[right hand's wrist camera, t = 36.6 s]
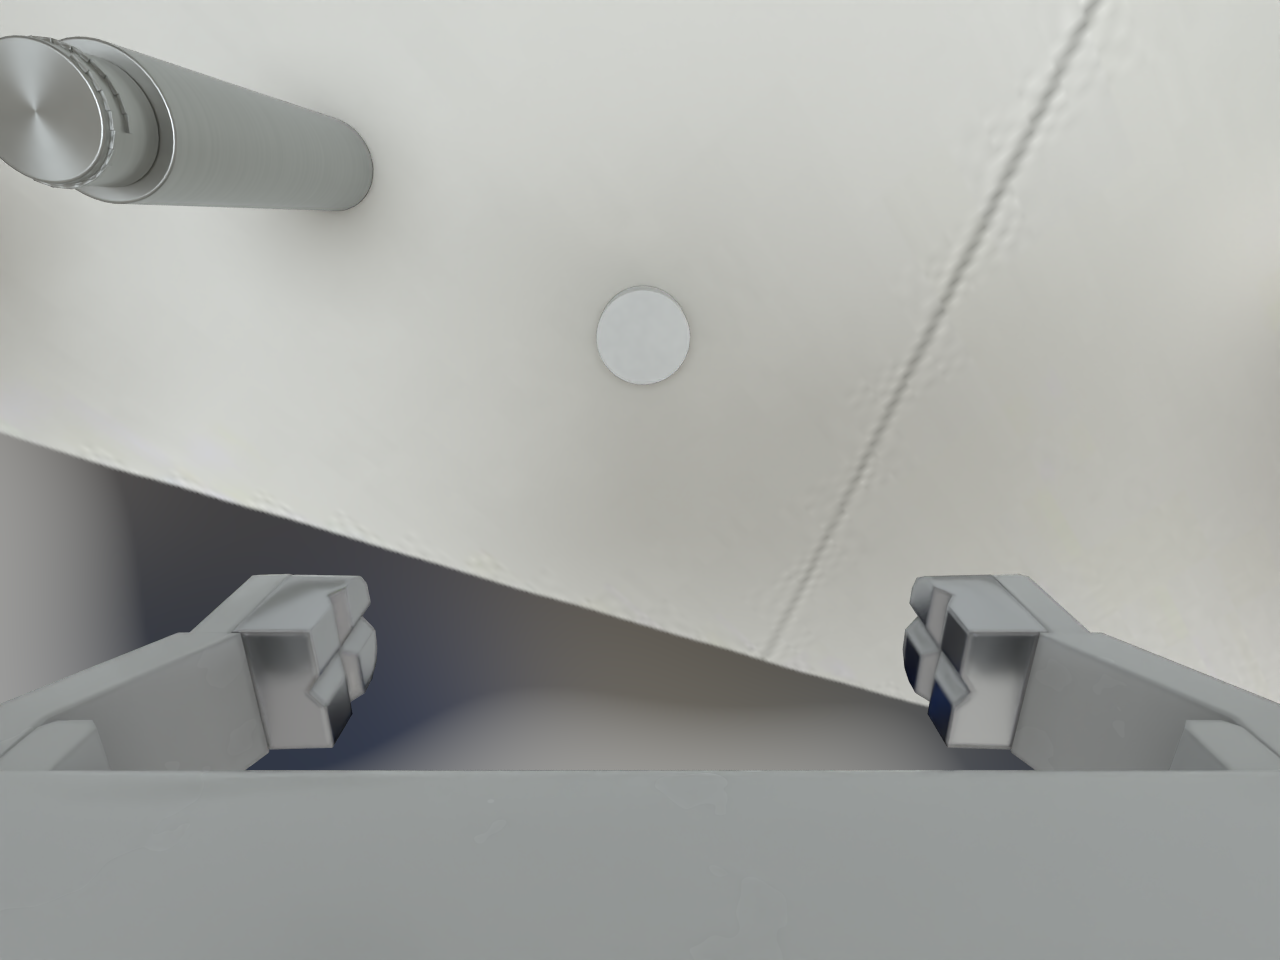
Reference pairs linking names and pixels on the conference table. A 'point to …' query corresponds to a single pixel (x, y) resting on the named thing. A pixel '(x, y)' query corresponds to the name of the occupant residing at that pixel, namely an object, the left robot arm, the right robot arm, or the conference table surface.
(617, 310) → the lid
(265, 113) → the grey cylinder
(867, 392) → the conference table surface
